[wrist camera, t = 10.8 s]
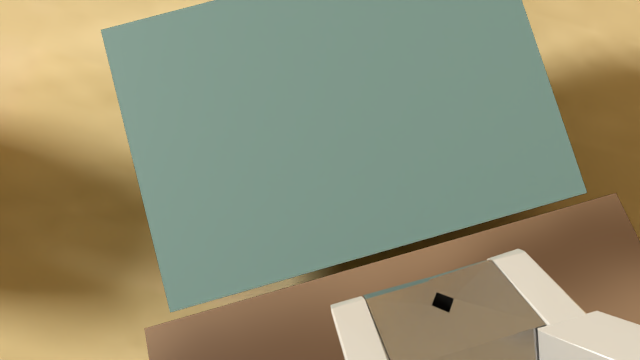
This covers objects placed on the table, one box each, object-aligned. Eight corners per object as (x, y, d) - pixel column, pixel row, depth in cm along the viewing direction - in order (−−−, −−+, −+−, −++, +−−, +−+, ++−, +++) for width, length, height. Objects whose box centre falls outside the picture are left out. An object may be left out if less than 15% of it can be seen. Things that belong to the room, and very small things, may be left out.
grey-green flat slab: (586, 192, 20) (496, -74, 21) (170, 312, 19) (100, 30, 20) (554, 198, 23) (476, -38, 24) (187, 303, 22) (125, 54, 23)
